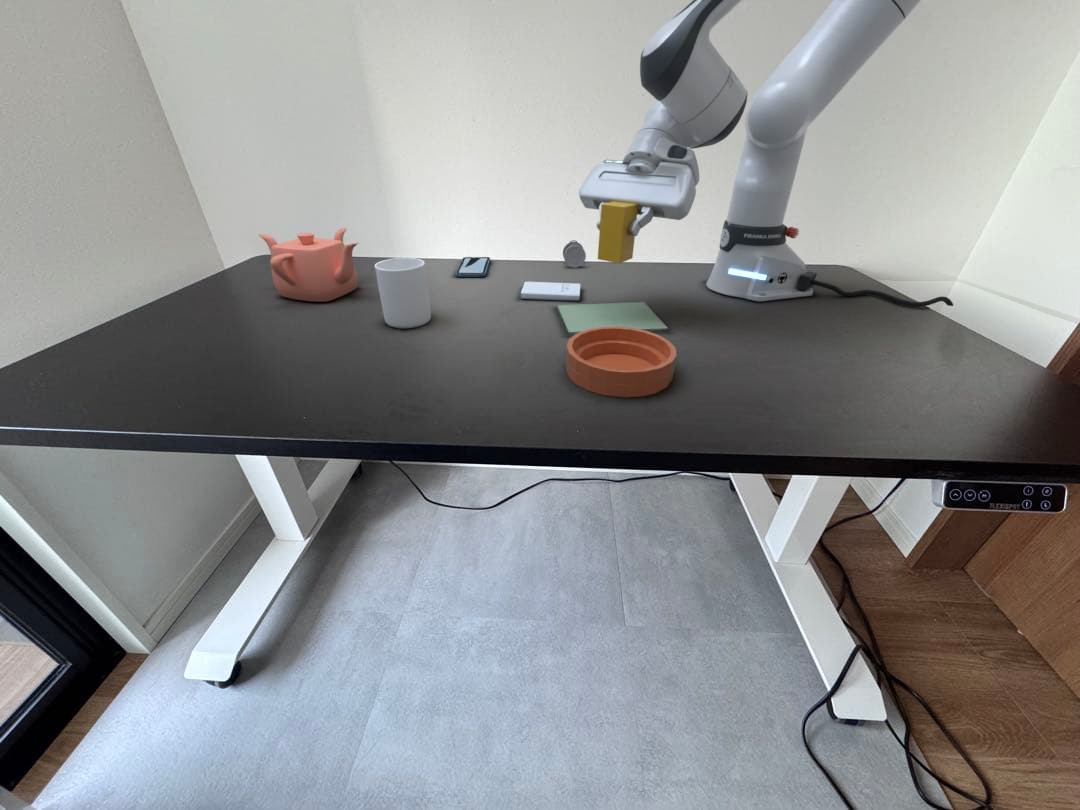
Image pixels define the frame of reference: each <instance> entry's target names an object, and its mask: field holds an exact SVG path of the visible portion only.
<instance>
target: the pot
mask: <svg viewBox="0 0 1080 810" xmlns="http://www.w3.org/2000/svg"><path fill="white" fill-rule="evenodd" d="M346 232H347V227H343V228H339V229H338V230H337V231H336V232H335V234H334V237H333V239H331V238H321V237H315V233H314V232H313V233H312V232H301V233H298V234H297V235H296V237H297V238H294V239H291V240H288V241H284V242H281V243H278V242H277V240H275V239H274V238H273V237H272V236H271V235H268V234H264V233H259V234H258V236H259V237H260V238H261V239H263V240H264V242H265V243H266V244H267V246H268V249H269V253H270V255H271V256H270V261H269V264H270V268H271V275H272V280H273V284H274V288H275V289H276V291H277V292H278V293H279V295H280V296H281V297H284V298H287V299H291V300H298V301H303V302H304V301H305V302H316V303H317V302H319V303H320V302H322V303H325V302H326V303H327V302H330V301H333V300H335V299H337V298H340V297H343V296H344V295H347V294H349V293H352V292H353V291H355V290H356V289H357V287H358V281H359V279H358V273H357V270H356V267H355V264H354V258H353V251H354V248H355V247H356V246H358V245H359V242H352V243H346V244H344V236H345V233H346Z"/></svg>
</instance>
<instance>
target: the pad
mask: <svg viewBox="0 0 1080 810" xmlns="http://www.w3.org/2000/svg"><path fill="white" fill-rule="evenodd" d="M557 311H558V313H559V316H560V317H561V318H562V321H563V323H564V325H565V327H566V330H567V332H568V334H577V333H579V332H582V331H585V330H587V329H593V328H598V327H616V326H617V327H629V328H635V329H640V330H645V331H658V330H668V329H669V327H668V326H666V324H665V323H664V322H663V321H662V320H661V319H660V318H659V317H658V316H657V314H655V312H654V311H653V310H652V309H651V307H650V306H649V305H648V304H647V303H646V302H644V301H640V302H639V301H637V302H635V301H634V302H611V303H610V302H608V303H581V304H578V303H577V304H576V303H575V304H557Z"/></svg>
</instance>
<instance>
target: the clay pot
mask: <svg viewBox="0 0 1080 810" xmlns="http://www.w3.org/2000/svg"><path fill="white" fill-rule="evenodd" d="M567 341H568V342H567V344H566V350H565V351H566V352H565V353H566V354H565V357H566V358H565V371H566V374H567V377H568V378H569V380H571V381H572V382H573V383H574V384H575V385H576V386H578V387H579V388H582V389H584V390H586V391H587V392H591V393H593V394H597V395H602V396H607V397H615V398H641V397H642V398H643V397H646V396H650V395H654V394H658V393H659V392H661V391H663V390H665V389H666V388H668V387H669V385H670V384H671V382H672V381H673V378H674V373H675V367H676V362H677V356H678V355H677V348H676V347H675V345H674V344H673V343H672V342H671V341H670V340H668V339H666V338H665V337H663V336H661V335H659V334H658V333H654V332H652V331H650V330H640V329H635V328H629V327H617V326H616V327H598V328H593V329H587V330H585V331H582V332H579V333H574V335H572V336H571V337H570V338H569V339H568V340H567Z"/></svg>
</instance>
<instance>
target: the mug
mask: <svg viewBox="0 0 1080 810" xmlns="http://www.w3.org/2000/svg"><path fill="white" fill-rule="evenodd" d="M374 271H375V277H376V282H377V287H378V292H379V298H380V302H381V303H380V305H381V309H382V314H383V318H384V321H385V323H386V325H388V326H389V327H392V328H395V329H413V328H419V327H422V326H425V324H428V323H429V322H430V320H431V319H432V310H431V302H430V301H431V300H430V294H429V285H428V276H427V269H426V263H425V260H423V259H420V258H417V257H416V258H415V257H394V258H387V259H384V260H380V261H378V262H376V263H375V264H374Z"/></svg>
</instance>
